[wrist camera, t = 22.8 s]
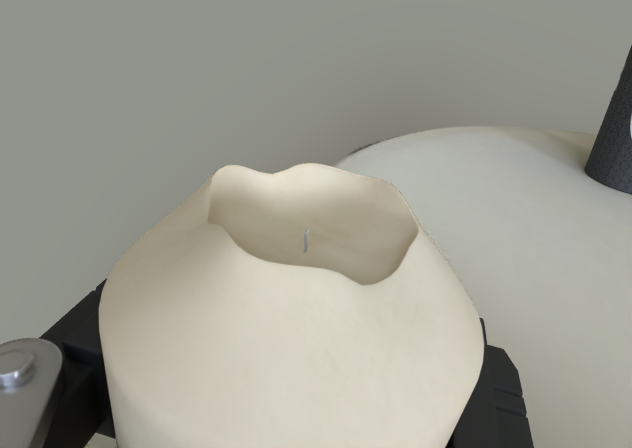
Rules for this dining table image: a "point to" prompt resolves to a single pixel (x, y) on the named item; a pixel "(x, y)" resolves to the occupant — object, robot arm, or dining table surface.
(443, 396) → the candle
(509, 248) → the dining table surface
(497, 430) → the robot arm
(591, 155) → the coffee cup
